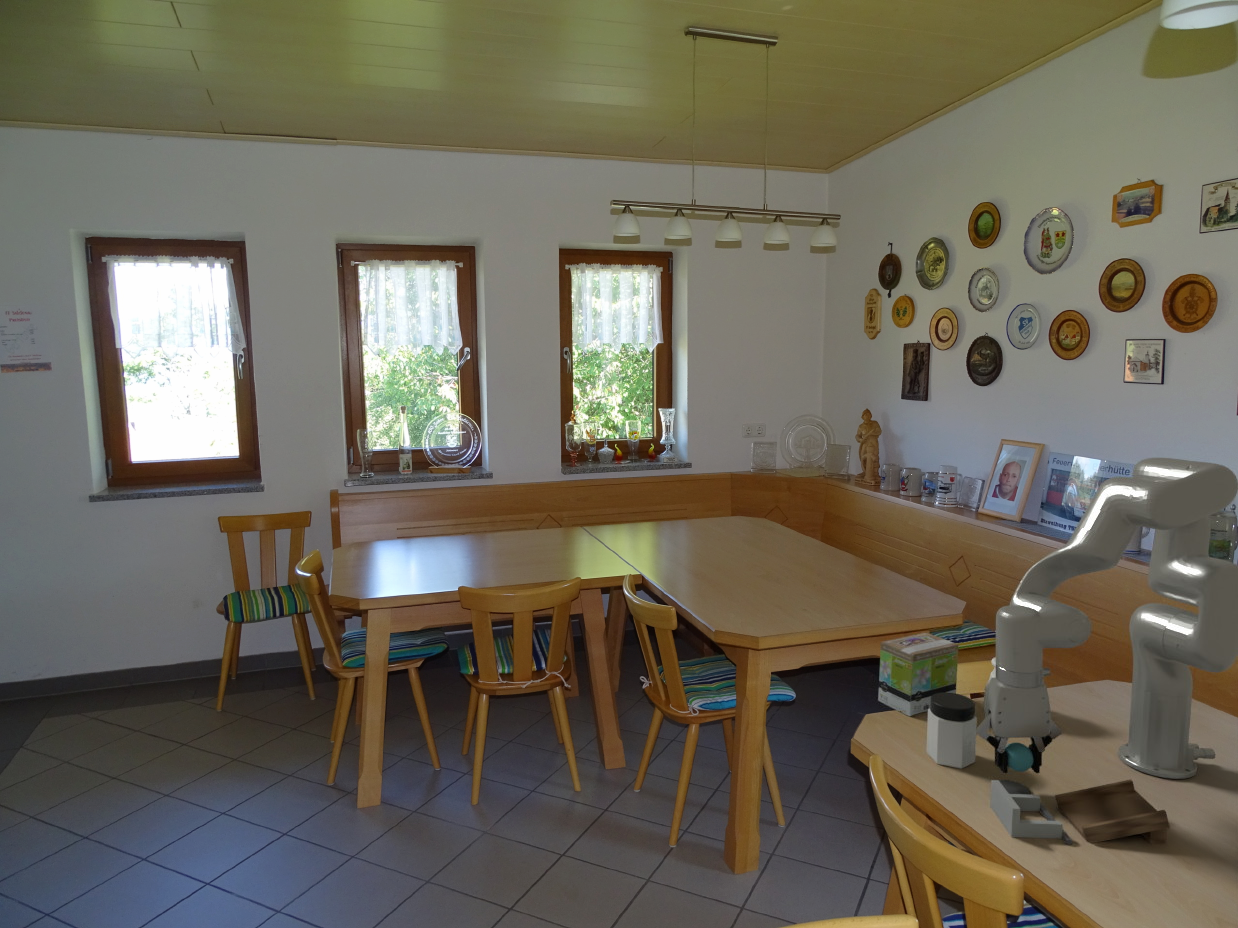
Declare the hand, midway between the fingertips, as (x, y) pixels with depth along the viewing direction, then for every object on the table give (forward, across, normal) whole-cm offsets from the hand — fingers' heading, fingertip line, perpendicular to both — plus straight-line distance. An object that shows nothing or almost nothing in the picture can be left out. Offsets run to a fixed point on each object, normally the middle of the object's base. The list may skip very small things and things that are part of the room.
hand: (1017, 768), depth 141 cm
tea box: (+5, +7, -38) cm, 38 cm away
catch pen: (+4, +3, +10) cm, 12 cm away
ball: (-2, 0, 0) cm, 2 cm away
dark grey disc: (+4, +1, 0) cm, 4 cm away
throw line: (+4, -1, +10) cm, 11 cm away
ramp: (+5, -11, +10) cm, 16 cm away
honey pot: (+6, -13, -32) cm, 35 cm away
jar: (+4, +8, -12) cm, 15 cm away
